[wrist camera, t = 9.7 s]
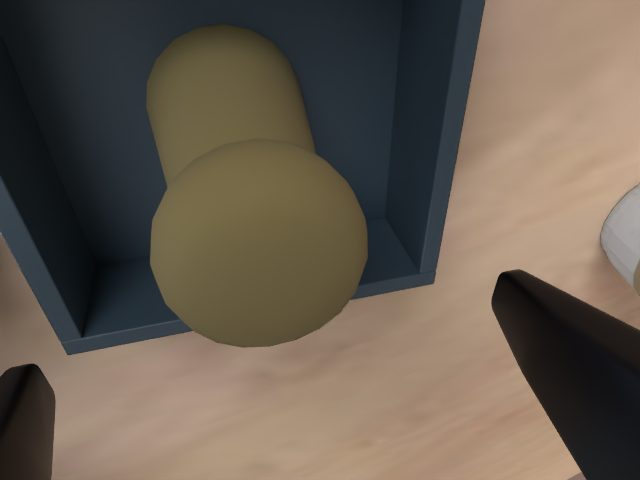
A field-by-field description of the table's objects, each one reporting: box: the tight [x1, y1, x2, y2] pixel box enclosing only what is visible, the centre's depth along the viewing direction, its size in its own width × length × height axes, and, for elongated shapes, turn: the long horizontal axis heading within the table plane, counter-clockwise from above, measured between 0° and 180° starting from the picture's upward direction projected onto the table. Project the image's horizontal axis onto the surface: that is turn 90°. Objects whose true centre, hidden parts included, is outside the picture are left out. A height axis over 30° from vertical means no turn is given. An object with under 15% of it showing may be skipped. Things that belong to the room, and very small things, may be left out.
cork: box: [146, 24, 368, 347], centre depth 14 cm, size 6×6×11 cm
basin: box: [0, 0, 485, 355], centre depth 17 cm, size 16×16×5 cm
